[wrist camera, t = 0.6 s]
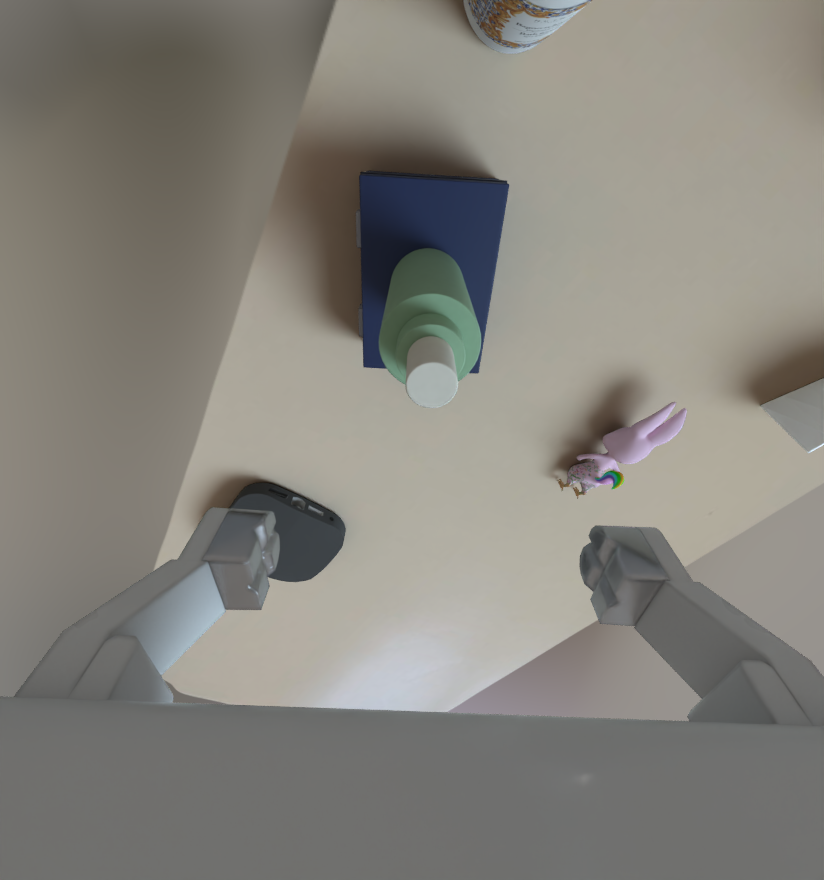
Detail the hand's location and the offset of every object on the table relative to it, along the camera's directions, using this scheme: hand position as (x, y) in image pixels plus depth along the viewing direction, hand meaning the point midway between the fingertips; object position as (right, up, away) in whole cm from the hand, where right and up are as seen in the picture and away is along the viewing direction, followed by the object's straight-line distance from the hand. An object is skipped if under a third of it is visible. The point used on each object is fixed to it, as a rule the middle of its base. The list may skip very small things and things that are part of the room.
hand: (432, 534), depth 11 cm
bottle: (+1, +14, +21) cm, 25 cm away
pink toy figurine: (+22, +2, +35) cm, 41 cm away
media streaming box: (-18, -9, +44) cm, 49 cm away
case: (+1, +17, +25) cm, 30 cm away
